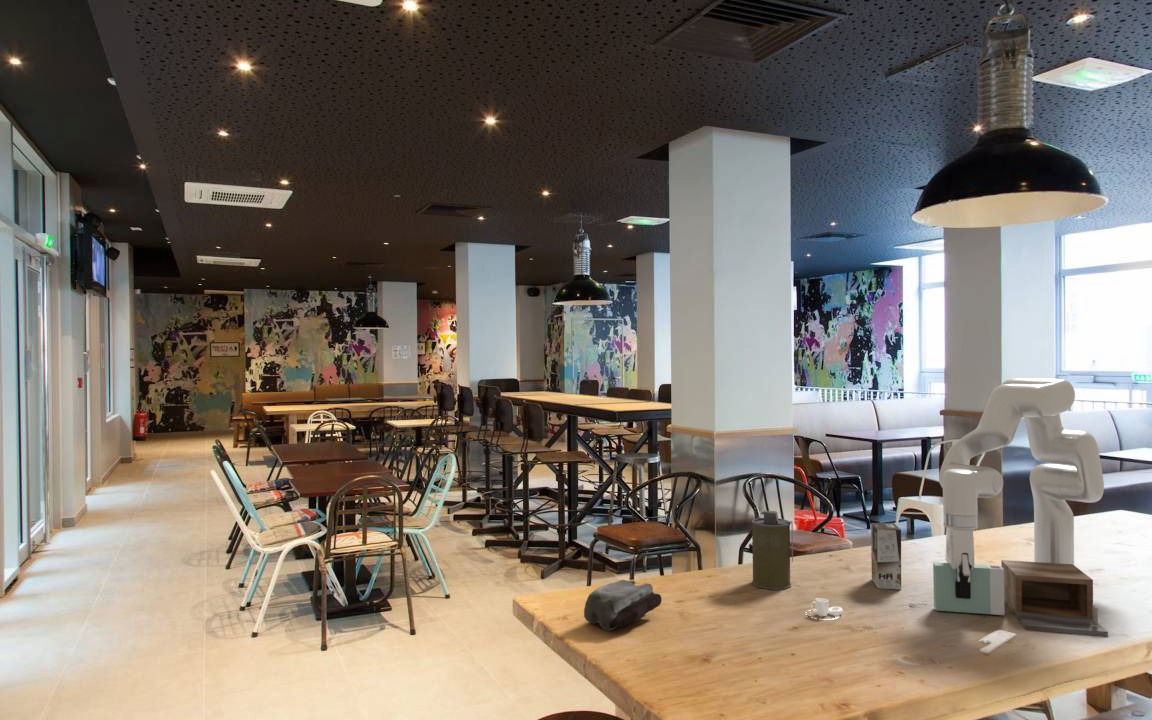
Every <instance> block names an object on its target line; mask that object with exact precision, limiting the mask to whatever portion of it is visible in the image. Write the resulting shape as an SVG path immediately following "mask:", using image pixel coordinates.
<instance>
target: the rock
mask: <svg viewBox="0 0 1152 720" xmlns="http://www.w3.org/2000/svg"><path fill="white" fill-rule="evenodd" d="M635 584H636V581H635V580H626V579H619V580H617V581H615V582H611V583H607V584H605V585H602V586H601V585H600V586H599V587H598V588H595V589H594V590H593V591H591V592H590V593H589V594H588V596H587V597H586V598H587V599H586V601H585V604H584V609H583V610H584V611H583V614H584V615H583V617H584V619H585V620H586V621H587V622H588V623H589V624H597V623H598V625H599V626H600V627H601V628H602V629H603V630H605V631H613V630H615V629H617V628H620V627H623V626H625V625H629V624H631V623H633V622H635V621H638V620H639V619H640V618H642V617H643V616H644V615H647V613H650V612H651V611H653V610H655V609H656V608H657V607H659V606H660V605H661V604H662V601H663V599H662V596H661V595H660V594H659V593H654V588H653V587H654V586H653V585H652V584H650V583H643V584H639V585H635Z"/></svg>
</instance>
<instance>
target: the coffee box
mask: <svg viewBox="0 0 1152 720" xmlns="http://www.w3.org/2000/svg"><path fill="white" fill-rule="evenodd" d="M870 542H871V543H870V546H871V548H870V549H871V550H870V554H871V555H870V556H871V581H872V582H873V583H874V585H875V586H876V588H877V589H882V590H883V589H885V590H902V529H901V527H899V526H898V525H896V524H895V523H894V522H871V523H870Z"/></svg>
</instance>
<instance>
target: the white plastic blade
mask: <svg viewBox="0 0 1152 720" xmlns="http://www.w3.org/2000/svg"><path fill="white" fill-rule="evenodd" d="M1016 636H1017V634H1016V633H1015V632H1010V631H1006V630H1001V629H998V630H994V631H993V632H991V633H989V634H987V635H985V636H983V637H982V638H981V639H979V640H978V642H982V643H983V644H987V643H988V645H986V646H984V647H982V648H980V649H979V652H981V653H985V654H989V653H992V652H993V651H994V650H996V649H997V648H999V647H1001V646H1002V645H1003V644H1006V643H1007V642H1009V641H1010V640H1011V639H1013V638H1015V637H1016Z"/></svg>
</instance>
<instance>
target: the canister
mask: <svg viewBox="0 0 1152 720" xmlns="http://www.w3.org/2000/svg"><path fill="white" fill-rule="evenodd" d="M760 515H763V517H759V518H757V517H756V518H753V519H752V520H751V525H752V526H751V527H752V535H751V536H752V581H751V582H752V583H751V584H752V585H753V586H754V585H755V586H754V587H756V586H757V588H758V587H761V588H760V589H762V588H764V590H768V589H771V590H770V591H782V590H781V589H783V590H786V589H788V588H790V587H792V583H791V563H793V562H794V561H793V560H794V547H793V546H794V541H793V540H794V539H793V538H794V537H793V536H794V535H793V532H794V531H793V529H794V528H793V521H792V520H787V519H784V518H779V516H778V515H779V514H778V512H777V511H776V510H763V511H762V512H761V513H760ZM790 526H791V527H790ZM790 530H791V531H790Z"/></svg>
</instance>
